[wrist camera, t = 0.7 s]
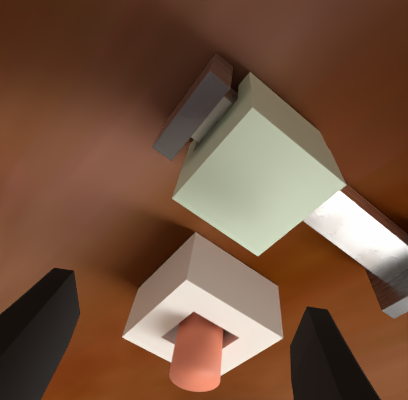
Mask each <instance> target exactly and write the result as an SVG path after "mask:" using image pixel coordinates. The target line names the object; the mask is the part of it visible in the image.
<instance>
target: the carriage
mask: <svg viewBox="0 0 408 400" xmlns="http://www.w3.org/2000/svg"><path fill="white" fill-rule="evenodd" d="M345 186H346V183H345V181H344V179H343V176H342V174H341V172H340V170H339V168H338V166H337V164H336V162H335V160H334V157H333V155H332V153H331V151H330V150H329V149H328V147H327V145H326V143H325V141H324V139H323V137H322V135H321V132H320V131H318V130H317V129H316V128H315V127H314V126H313V125H311V124H310V123H309V122H308V121H307V120H306V119H304V118H303V117H302V116H301V115H300V114H299V113H297V112H296V111H295V110H294V109H293V108H292V107H290V106H289V105H288V104H287V103H286V102H285V101H284V100H282V99H281V98H280V97H279V96H278V95H277V94H275V93H274V92H273V91H272V90H271V89H270V88H268V87H267V86H266V85H265V84H264V83H263V82H261V81H260V80H259V79H258V78H257V77H256V76H254V75H253V74H252V73H251V72H249V73H248V74H247V76H246V77H245V78H244V79H243V81H242V82H241V83H240V84H239V85H238V99H237V101H236V102H235V103H234V104H233V105H232V107H231V108H230V109H229V110H228V111H227V112H226V114H225V115H224V116H223V117H222V118H221V120H220V121H219V122H218V123H217V124H216V126H215V127H214V128H213V129H212V130H211V131H210V133H209V134H208V135H207V136H206V137H205V139H204V140H203V141H202V142H201V143H198V142H197V141H196V140H193V141H192V142H191V144H190V145H189V148H188V152H187V155H186V158H185V161H184V163H183V166H182V169H181V172H180V175H179V178H178V181H177V185H176V188H175V191H174V194H173V197H172V199H174V200H175V201H177V202H178V203H180V204H181V205H182V206H184V207H185V208H187V209H188V210H190V211H191V212H193V213H194V214H196V215H197V216H199V217H200V218H202V219H203V220H205V221H206V222H208V223H209V224H211V225H212V226H214V227H215V228H217V229H218V230H220V231H221V232H223V233H224V234H225V235H227V236H228V237H230V238H231V239H233V240H234V241H236V242H237V243H239V244H240V245H242V246H243V247H245V248H246V249H248V250H249V251H251V252H252V253H254V254H255V255H257V256H259V255H260V254H261V253H263V252H264V251H265V250H266V249H268V248H269V247H270V246H271V245H273V244H274V243H275V242H276V241H278V240H279V239H280V238H281V237H283V236H284V235H285V234H286V233H288V232H289V231H290V230H291V229H293V228H294V227H295V226H296V225H297V224H299V223H300V222H301V221H302V220H304V219H305V218H306V217H307V216H309V215H310V214H311V213H312V212H314V211H315V210H316V209H317V208H319V207H320V206H321V205H322V204H324V203H325V202H326V201H327V200H328V199H330V198H331V197H332V196H333V195H335V194H336V193H337V192H338V191H340V190H341V189H342V188H343V187H345Z"/></svg>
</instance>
